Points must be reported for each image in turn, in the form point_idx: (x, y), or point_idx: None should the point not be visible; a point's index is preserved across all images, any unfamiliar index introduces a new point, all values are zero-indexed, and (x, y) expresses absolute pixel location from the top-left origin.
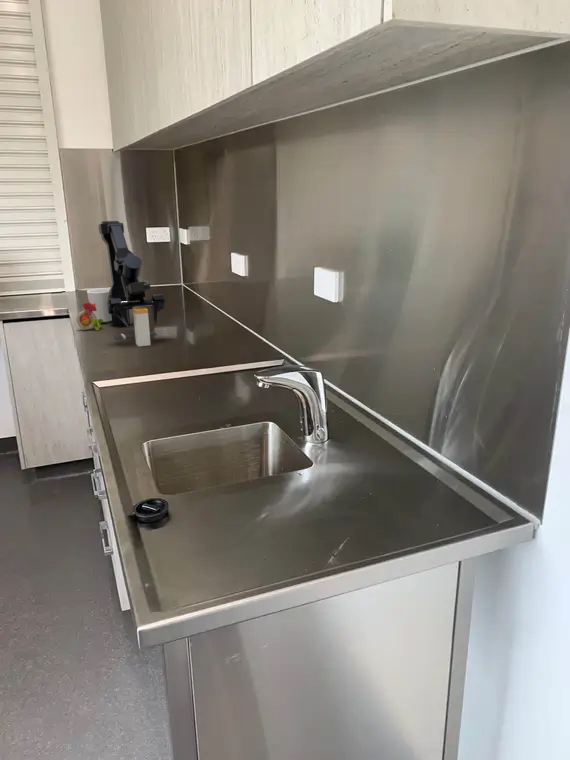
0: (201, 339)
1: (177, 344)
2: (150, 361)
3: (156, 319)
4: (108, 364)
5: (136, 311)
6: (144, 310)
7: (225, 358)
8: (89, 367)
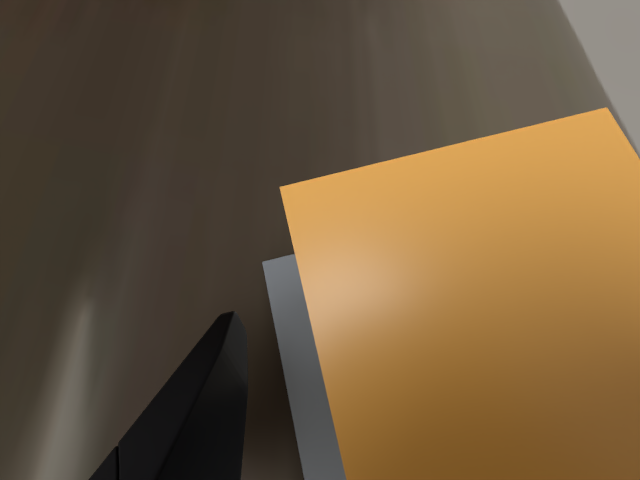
0: (2, 410)
1: (167, 315)
2: (321, 56)
3: (202, 339)
4: (491, 46)
5: (565, 129)
6: (370, 175)
7: (32, 48)
8: (560, 23)
